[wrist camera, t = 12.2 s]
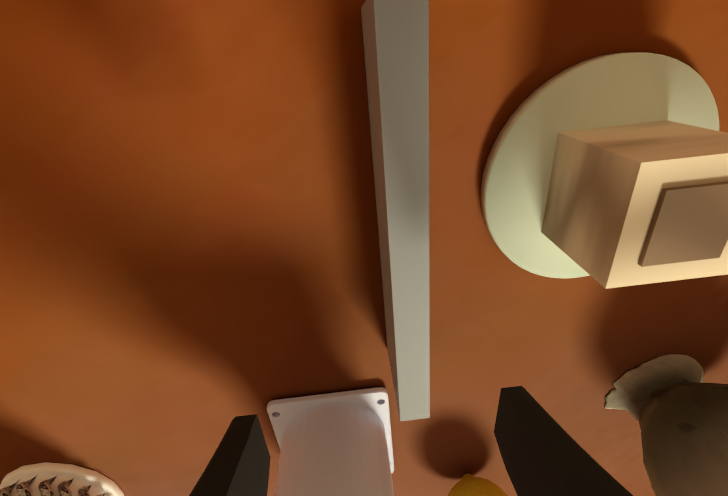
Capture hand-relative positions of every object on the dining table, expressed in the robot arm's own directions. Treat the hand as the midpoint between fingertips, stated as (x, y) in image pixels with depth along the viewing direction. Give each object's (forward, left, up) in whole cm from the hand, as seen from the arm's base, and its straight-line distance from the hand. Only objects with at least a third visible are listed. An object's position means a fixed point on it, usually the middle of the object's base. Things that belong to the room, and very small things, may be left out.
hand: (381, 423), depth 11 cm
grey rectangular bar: (+2, -2, -10) cm, 10 cm away
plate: (+3, -12, -10) cm, 16 cm away
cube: (+3, -12, -9) cm, 15 cm away
